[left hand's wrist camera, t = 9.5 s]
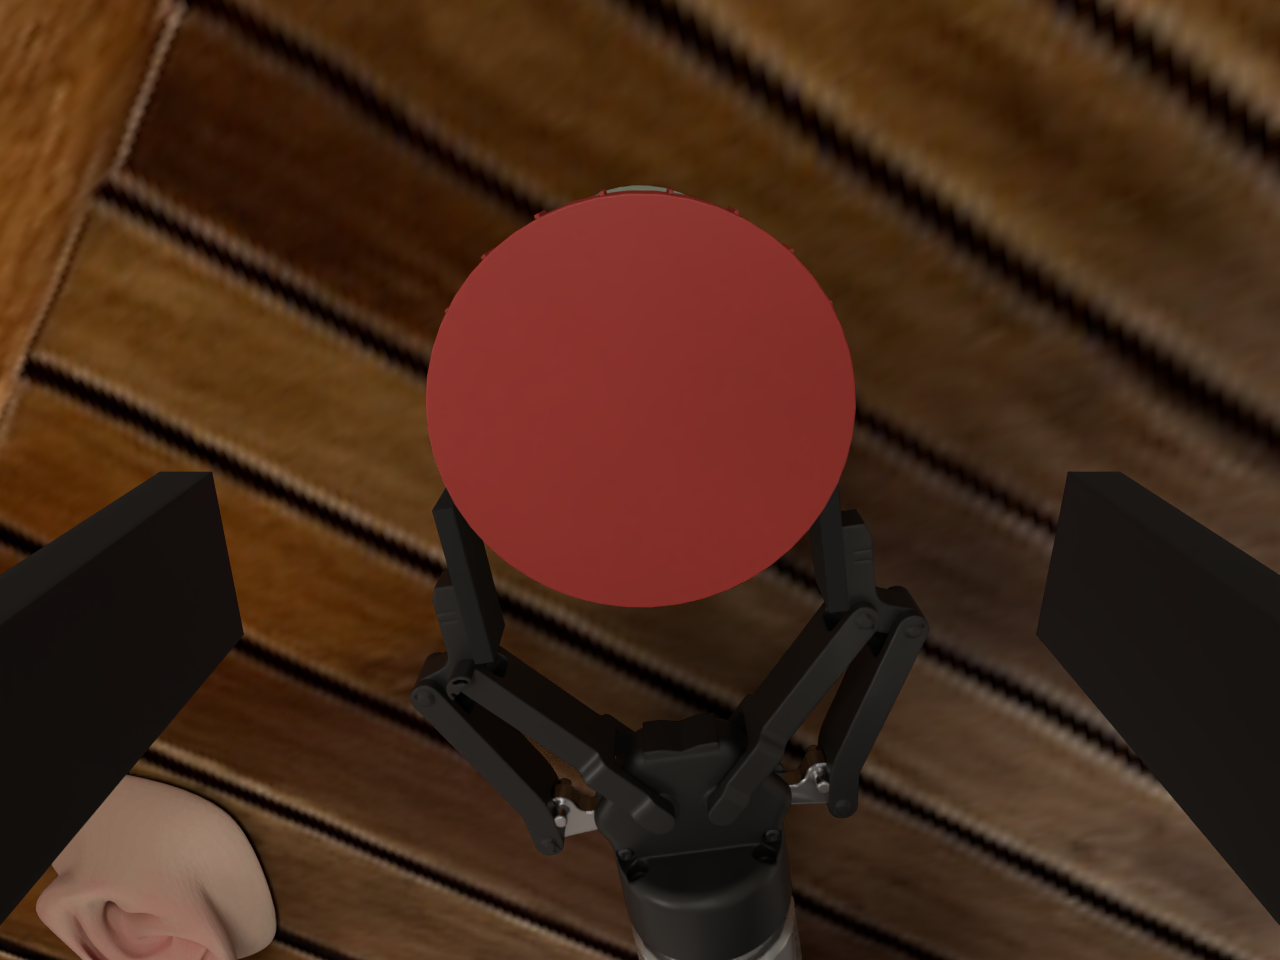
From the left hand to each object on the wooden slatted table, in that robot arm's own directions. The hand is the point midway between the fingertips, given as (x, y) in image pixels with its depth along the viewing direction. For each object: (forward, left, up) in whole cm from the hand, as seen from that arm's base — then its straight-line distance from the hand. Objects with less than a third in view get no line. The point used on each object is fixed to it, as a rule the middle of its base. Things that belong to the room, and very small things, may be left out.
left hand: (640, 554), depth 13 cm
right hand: (-2, +4, -17) cm, 18 cm away
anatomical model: (+8, +39, -23) cm, 46 cm away
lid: (0, 0, -7) cm, 7 cm away
